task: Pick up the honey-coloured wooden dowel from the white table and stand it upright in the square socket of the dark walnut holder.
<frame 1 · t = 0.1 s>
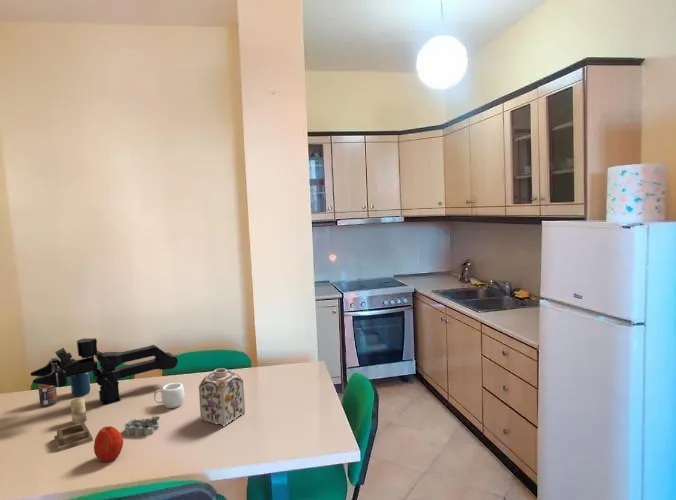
hand: (31, 377, 171), 17 cm above the table, tool horizontal, fingers open, 9 cm apart
apple: (109, 459, 145), on the table
walnut socket holder: (73, 440, 158), on the table
supplement bottle: (49, 404, 187), on the table
egg carton: (142, 431, 163), on the table
soda can: (81, 394, 196), on the table
decorative jar: (223, 417, 171), on the table
mug: (169, 405, 182), on the table
wooden dowel: (79, 421, 171), on the table
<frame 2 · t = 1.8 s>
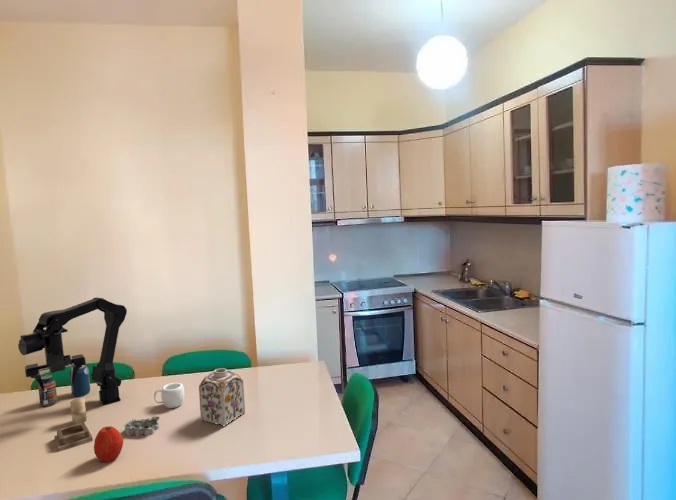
hand: (58, 387, 171), 13 cm above the table, tool pointing down, fingers open, 9 cm apart
nothing on the table moved.
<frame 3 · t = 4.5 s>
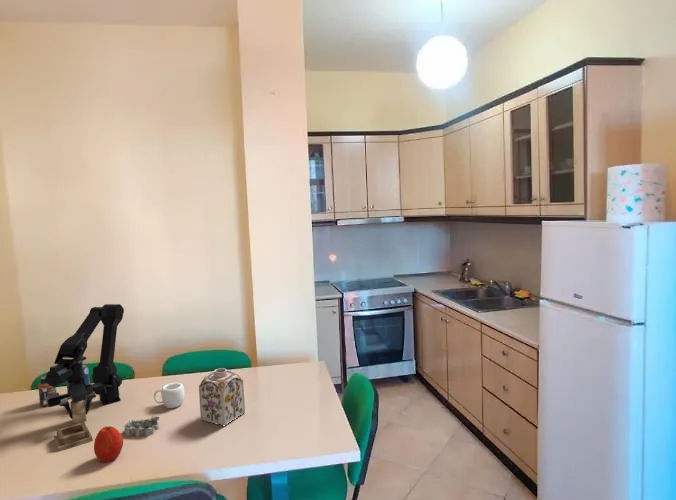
hand: (79, 416, 171), 2 cm above the table, tool pointing down, fingers closed on wooden dowel, 4 cm apart
wooden dowel: (79, 421, 171), on the table, touching gripper
everything else where it was.
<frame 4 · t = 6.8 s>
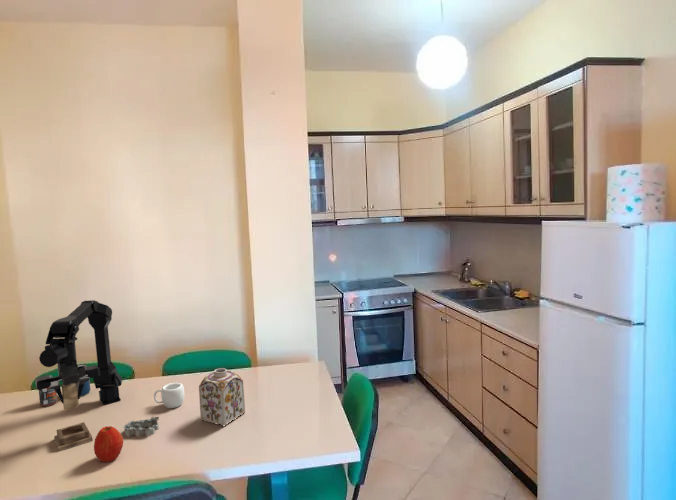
hand: (70, 401, 159), 13 cm above the table, tool pointing down, fingers closed on wooden dowel, 4 cm apart
wooden dowel: (71, 406, 160), point 10 cm above the table, touching gripper
everything else where it was.
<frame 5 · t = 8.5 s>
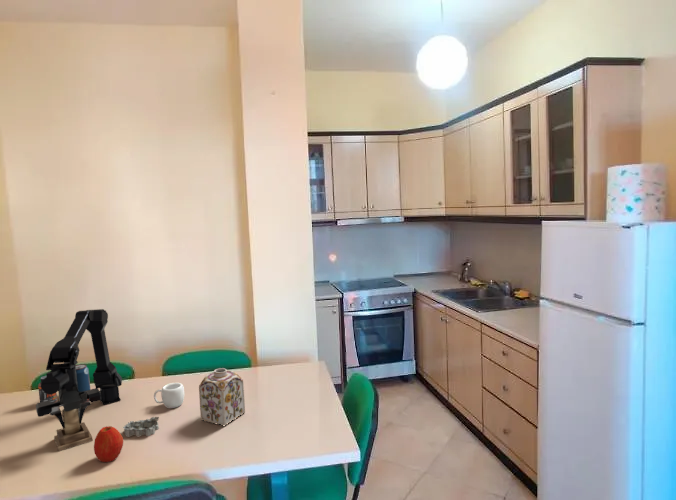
hand: (72, 425, 157), 5 cm above the table, tool pointing down, fingers closed on wooden dowel, 4 cm apart
wooden dowel: (72, 431, 157), point 3 cm above the table, touching gripper
everything else where it was.
when the fingers open (5 cm above the table, at t = 9.5 s): wooden dowel drops 2 cm, resting on walnut socket holder.
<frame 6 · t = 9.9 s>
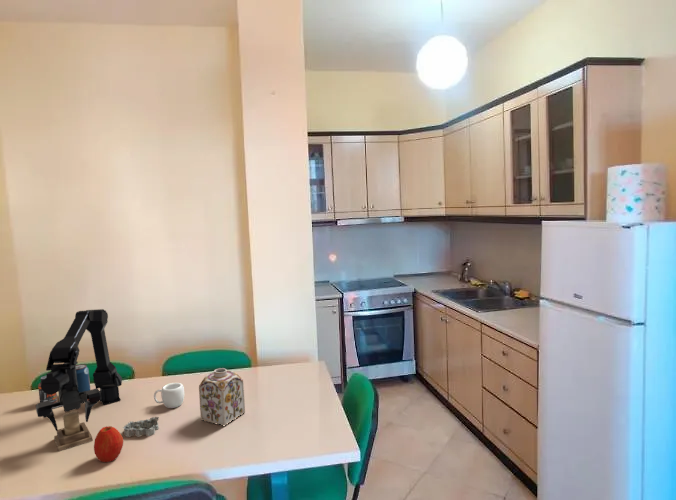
hand: (72, 426, 157), 5 cm above the table, tool pointing down, fingers open, 9 cm apart
wooden dowel: (73, 436, 158), point 1 cm above the table, touching walnut socket holder
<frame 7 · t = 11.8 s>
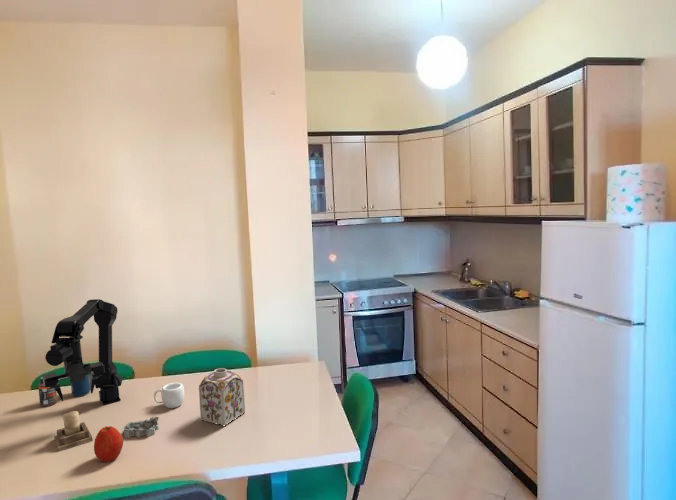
hand: (77, 396, 165), 11 cm above the table, tool pointing down, fingers open, 9 cm apart
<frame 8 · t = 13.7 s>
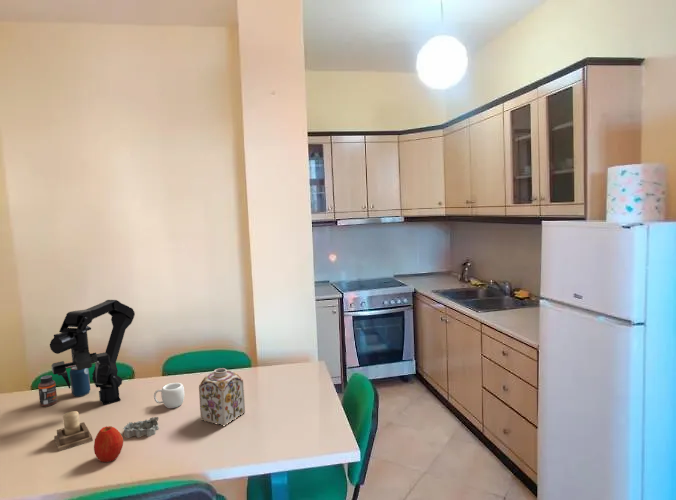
hand: (83, 384, 175), 12 cm above the table, tool pointing down, fingers open, 9 cm apart
at the end: wooden dowel 0.0 cm off-centre on the walnut socket holder, point 1.2 cm above the walnut socket holder's base; wooden dowel tilted 0°; the gripper is holding nothing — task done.
